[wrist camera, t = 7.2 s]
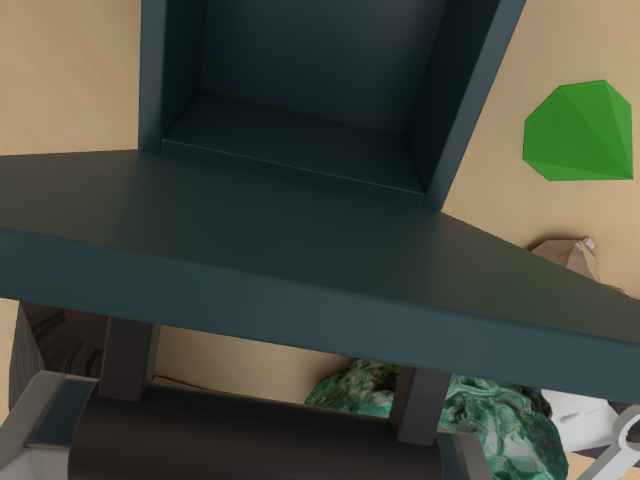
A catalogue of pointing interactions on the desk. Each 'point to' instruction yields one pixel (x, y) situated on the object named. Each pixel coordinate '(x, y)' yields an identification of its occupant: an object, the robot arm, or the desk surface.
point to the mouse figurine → (573, 257)
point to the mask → (55, 344)
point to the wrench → (617, 450)
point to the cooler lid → (289, 312)
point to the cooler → (323, 88)
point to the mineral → (464, 416)
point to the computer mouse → (581, 420)
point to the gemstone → (581, 134)
